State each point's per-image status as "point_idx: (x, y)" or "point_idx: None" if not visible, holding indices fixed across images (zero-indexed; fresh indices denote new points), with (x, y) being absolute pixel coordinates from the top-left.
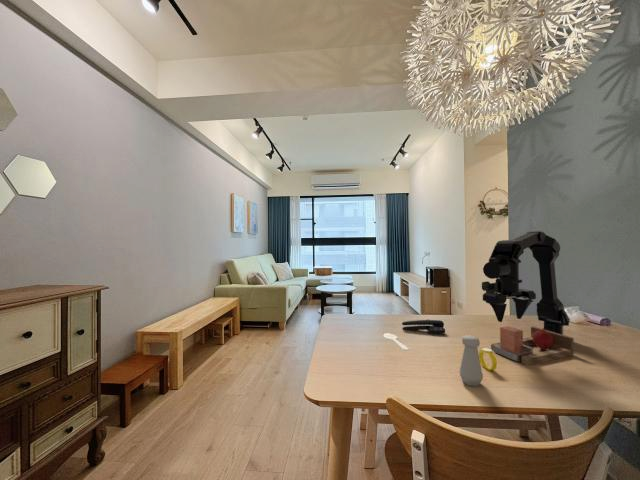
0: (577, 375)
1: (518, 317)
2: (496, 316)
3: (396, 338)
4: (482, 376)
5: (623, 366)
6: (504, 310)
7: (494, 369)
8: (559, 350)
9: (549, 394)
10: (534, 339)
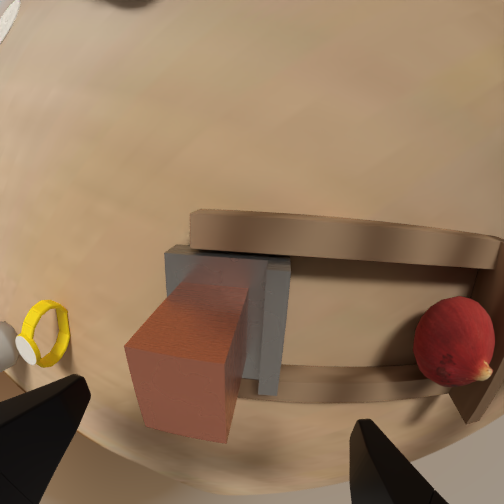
0: (278, 449)
1: (353, 440)
2: (36, 392)
3: (2, 40)
4: (11, 365)
5: (446, 438)
6: (35, 493)
7: (67, 343)
8: (413, 390)
9: (119, 436)
10: (426, 329)
